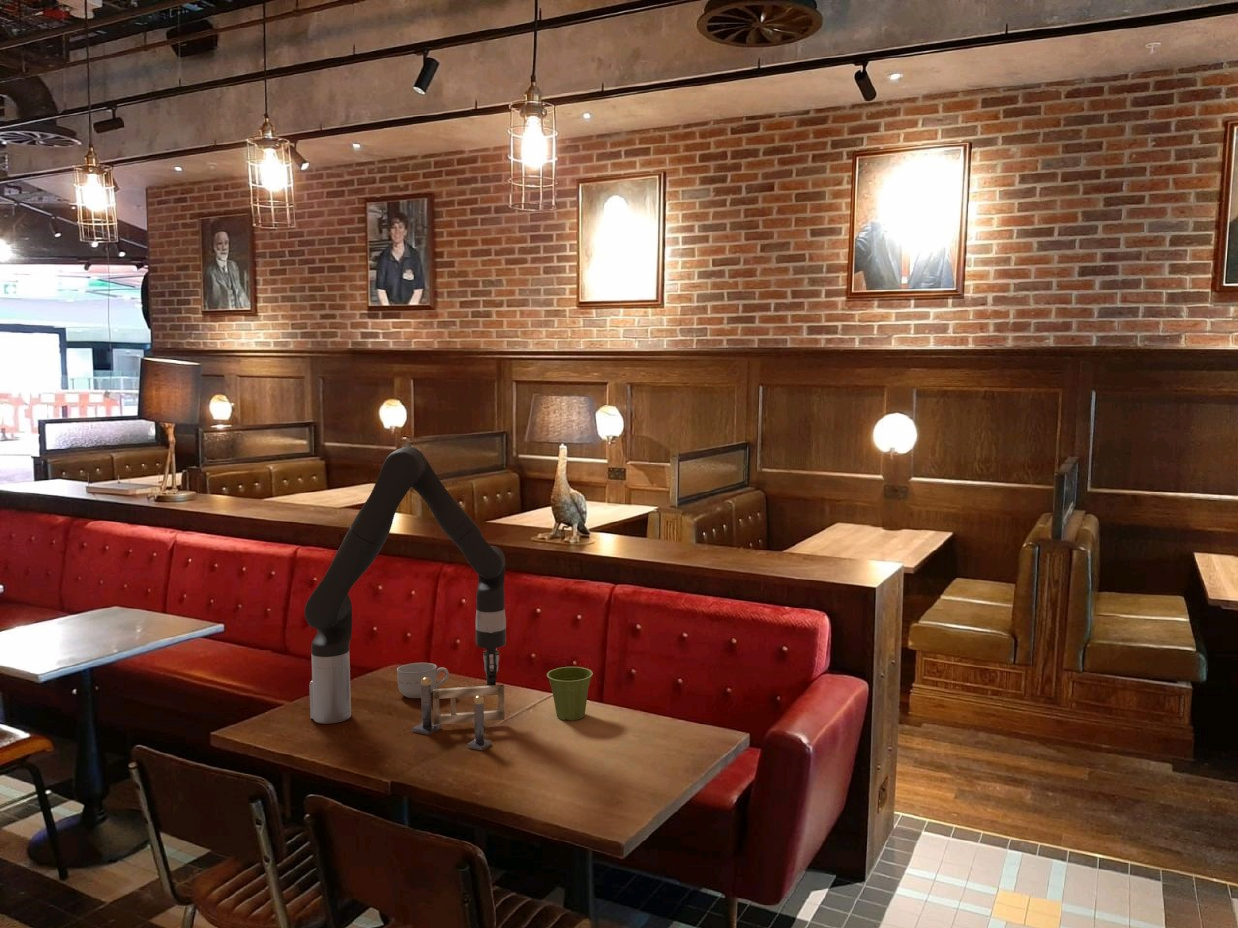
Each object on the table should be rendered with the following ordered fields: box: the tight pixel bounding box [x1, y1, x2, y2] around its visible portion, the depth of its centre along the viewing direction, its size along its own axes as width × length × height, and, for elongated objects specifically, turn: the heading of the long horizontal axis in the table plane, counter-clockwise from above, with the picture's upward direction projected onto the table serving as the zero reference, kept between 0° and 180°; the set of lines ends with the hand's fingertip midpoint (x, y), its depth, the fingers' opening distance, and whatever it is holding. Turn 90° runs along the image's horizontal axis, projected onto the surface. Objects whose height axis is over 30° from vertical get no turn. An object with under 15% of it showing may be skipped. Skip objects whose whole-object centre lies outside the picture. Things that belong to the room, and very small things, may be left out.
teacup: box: [396, 662, 450, 699], centre depth 252 cm, size 14×11×8 cm
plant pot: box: [546, 666, 594, 721], centre depth 236 cm, size 12×12×11 cm
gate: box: [432, 684, 505, 725], centre depth 229 cm, size 17×2×8 cm, turn 101°
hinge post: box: [411, 677, 442, 736], centre depth 227 cm, size 5×5×13 cm
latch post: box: [467, 696, 492, 751], centre depth 217 cm, size 4×4×12 cm
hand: (491, 693), depth 233 cm, fingers closed
